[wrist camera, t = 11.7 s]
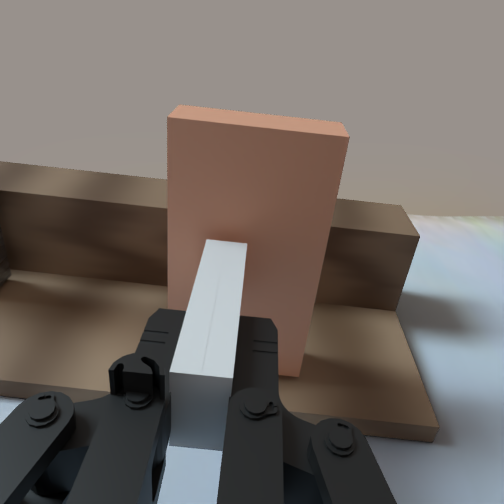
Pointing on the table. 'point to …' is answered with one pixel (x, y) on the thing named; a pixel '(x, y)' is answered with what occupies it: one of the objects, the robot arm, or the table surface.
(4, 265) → the grey rectangular slab
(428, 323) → the table surface
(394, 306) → the brown piece
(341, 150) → the terracotta key
